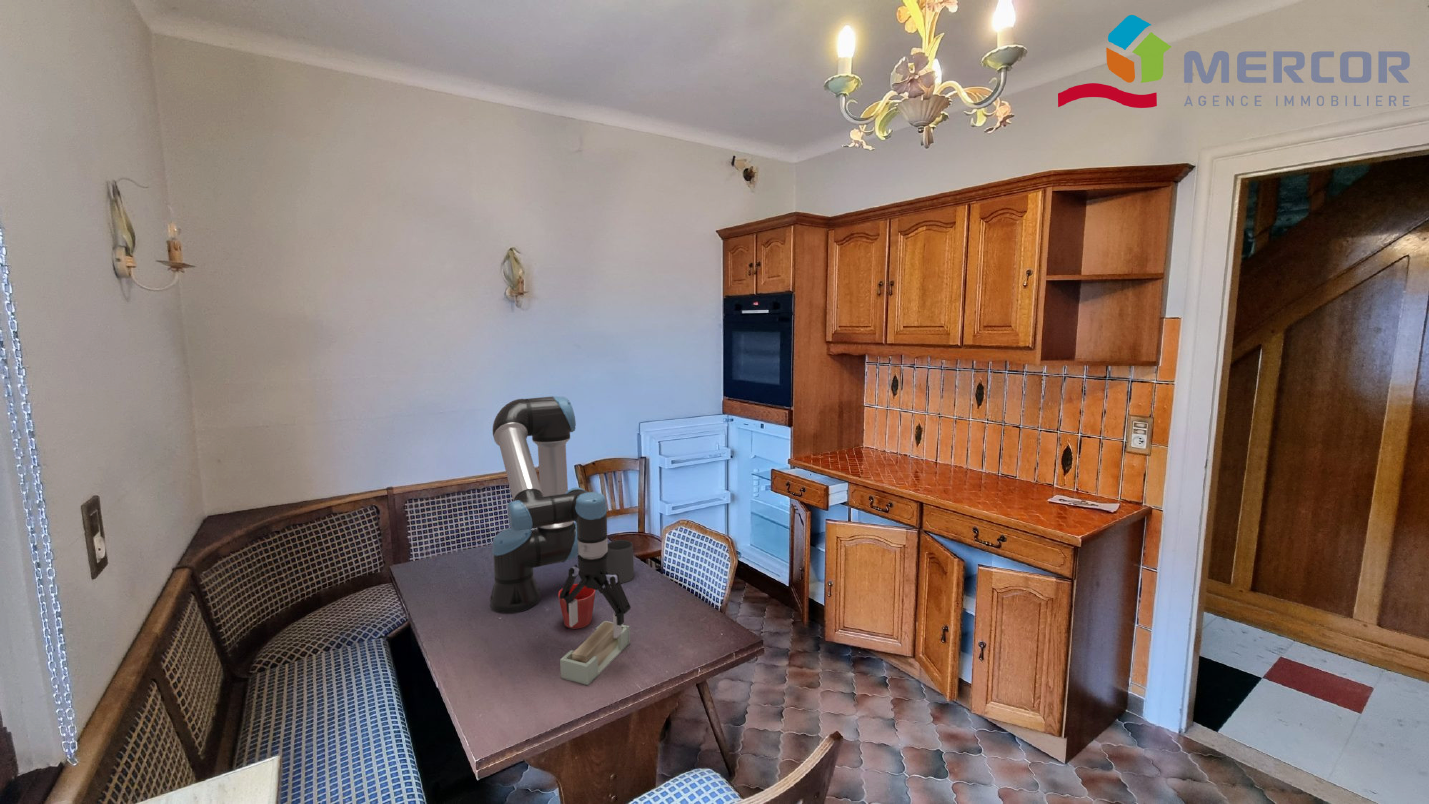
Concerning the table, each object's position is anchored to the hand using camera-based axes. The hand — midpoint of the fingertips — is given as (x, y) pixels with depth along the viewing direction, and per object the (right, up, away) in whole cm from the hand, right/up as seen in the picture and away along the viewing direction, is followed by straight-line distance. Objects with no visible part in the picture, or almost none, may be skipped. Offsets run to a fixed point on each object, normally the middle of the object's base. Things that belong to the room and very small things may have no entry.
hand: (595, 629), depth 151 cm
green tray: (0, -8, +1) cm, 8 cm away
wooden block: (0, -8, 0) cm, 8 cm away
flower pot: (-9, -6, +20) cm, 22 cm away
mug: (-3, -1, +50) cm, 50 cm away
